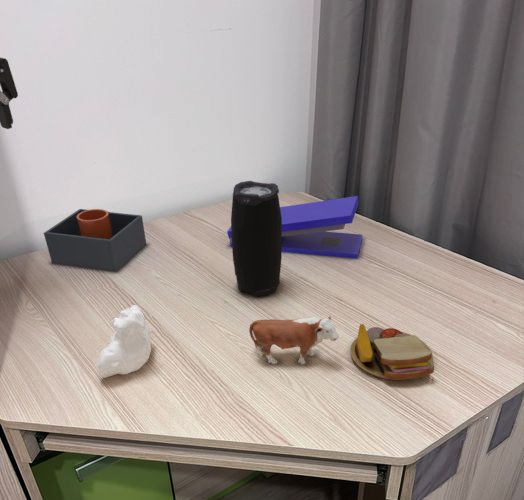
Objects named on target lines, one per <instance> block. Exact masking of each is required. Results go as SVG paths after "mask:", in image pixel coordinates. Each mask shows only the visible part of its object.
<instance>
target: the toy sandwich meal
mask: <svg viewBox="0 0 524 500" xmlns="http://www.w3.org/2000/svg"><path fill="white" fill-rule="evenodd" d="M349 353H350V357H351V358H352V360H353V361H354V363H355V364H356V365H357V366H358V367H359V368H361V369H362V370H363V371H365V372H366V373H368V374H370V375H372V376H375V377H378V378H381V379H386V380H394V381H395V380H397V381H398V380H411V379H419V378H423V377H426V376H429V375H431V374H433V373H434V372H435V365H434V364H433V360H434V355H433V352H432V349H431V348H430V347H429V345H428V344H427V343H426V342H424V341H423V340H421V339H420V338H419V336H417V335H415V334H410V333H407V332H404V331H401V330H399V329H397V328H393V327H390V328H385V329H384V328H383V327H380V326H372V327H369V328H368V329H367V328H366V326H365V324H364V323H361V324H359V327H358V333H357V337H356V338H355V339H354V340H353V341H352V342H351V345H350V349H349Z"/></svg>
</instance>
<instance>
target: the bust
mask: <svg viewBox="0 0 524 500" xmlns="http://www.w3.org/2000/svg"><path fill="white" fill-rule="evenodd" d="M109 325H110V327H112V328H113V329H115V332H113V334H112V335H111V337H110V340H109V342H108V343H107V344H108V345H107V346H105V347H104V348H103V349H102V350H101V351H100V353H99V355H98V358H97V359H98V360H97V363H96V371H97V373H98V375H99V376H100V377H101V378H109V377H112V376H115V375H127V374H130V373H134V372H136V371H138V370H140V369H141V368H142V367H143V366H144V365H145V364H146V362H148V361H149V357H150V356H151V352H152V340H151V338H152V337H151V335H152V332H153V330H152V328H151V327H150V326H149V324H148V323H147V321H146V317H145V315H144V313H143V311H142V309H141V308H140V307H139V305H137V304H133V305H131V306H130V307H127V308H125V309H123V310H121V311H120V312H119V315H118V317H114V318H112V320H110V321H109Z"/></svg>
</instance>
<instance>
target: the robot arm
mask: <svg viewBox="0 0 524 500" xmlns="http://www.w3.org/2000/svg"><path fill="white" fill-rule="evenodd" d="M18 96H19V93H18V90H17V86H16V83H15V80H14V77H13V74H12V71H11V67H10V64H9V61H8V59H7V58H4V57H0V126H1V128H3V129H6V130H10V129H13V124H14V118H13V115H12V111H11V107H10V102H11V101H12V100H13V99H17V98H18Z"/></svg>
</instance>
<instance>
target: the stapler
mask: <svg viewBox="0 0 524 500" xmlns="http://www.w3.org/2000/svg"><path fill="white" fill-rule="evenodd" d="M359 204H360V203H359V196H358V195H355V196H348V197H341V198H340V197H339V198H333V199H327V200H320V201H314V202H313V201H312V202H307V203H301V204H300V203H299V204H293V205H285V206H280V211H281V217H282V253H291V254H302V255H312V256H313V255H314V256H324V257H334V258H346V259H356V260H357V259H358V257H359V252H360V248H361V245H362V239H363V234H361V233H348V232H338V231H339V230H344V228H345V226H346V225H349V224H352V223H353V221H354V218H355V215H356V212H357V210H358V207H359ZM226 234H227V237H228V239H229V247H230V248H232V233H231V226H230V227H229V229H228V230H227V231H226Z"/></svg>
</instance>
